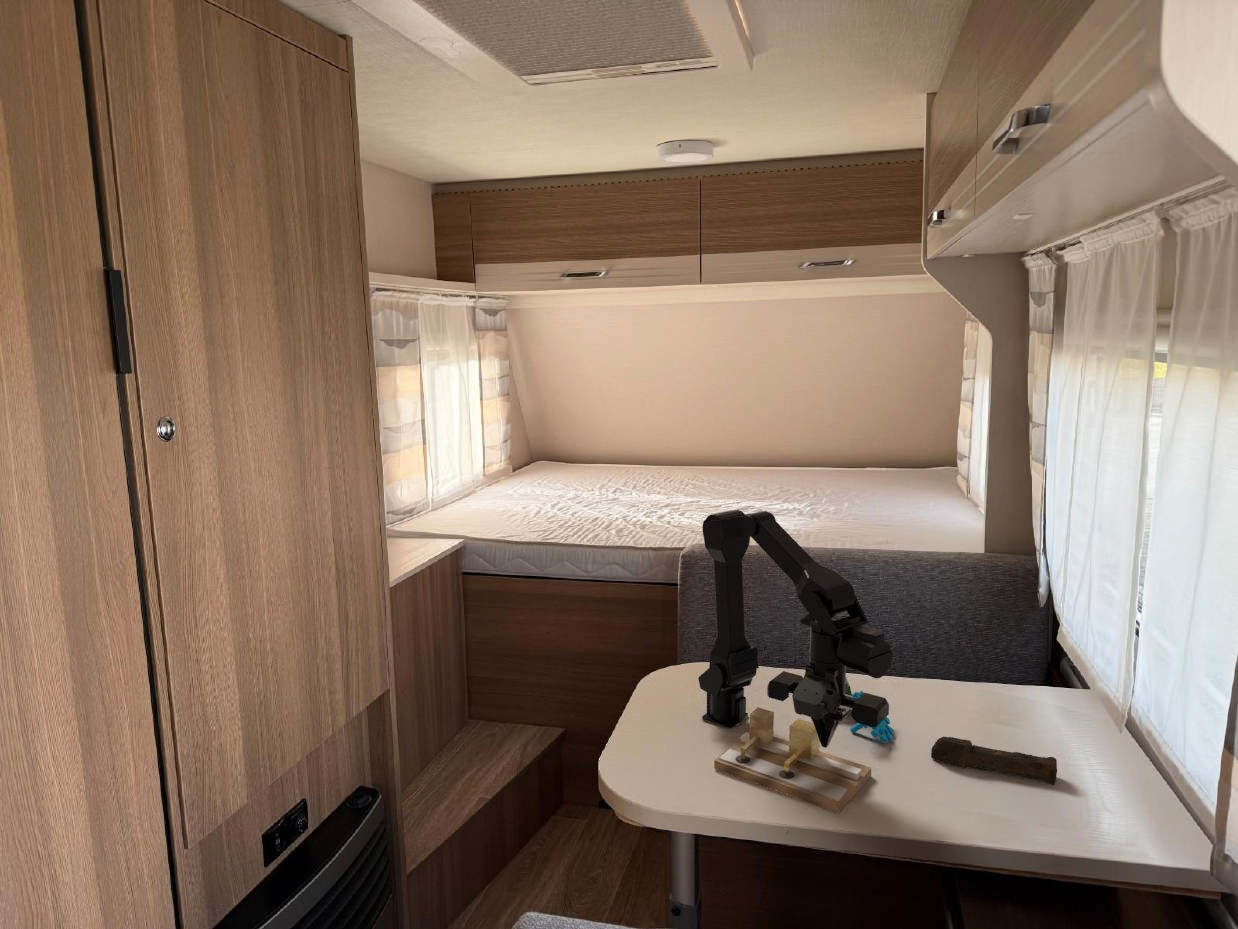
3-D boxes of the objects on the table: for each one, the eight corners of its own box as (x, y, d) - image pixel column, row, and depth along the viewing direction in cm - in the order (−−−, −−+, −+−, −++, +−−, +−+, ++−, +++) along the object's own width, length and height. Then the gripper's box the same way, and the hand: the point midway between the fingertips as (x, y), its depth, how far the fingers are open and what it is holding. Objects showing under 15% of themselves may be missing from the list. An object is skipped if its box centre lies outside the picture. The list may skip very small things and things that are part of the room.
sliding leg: (774, 770, 138) (774, 738, 137) (797, 749, 145) (797, 718, 144) (796, 778, 136) (797, 746, 135) (819, 756, 142) (820, 725, 141)
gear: (888, 746, 146) (850, 696, 149) (862, 764, 148) (825, 714, 152) (903, 728, 155) (867, 681, 159) (878, 744, 158) (843, 698, 161)
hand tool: (1055, 776, 140) (1057, 750, 139) (1056, 788, 136) (1058, 761, 135) (932, 753, 147) (934, 728, 147) (930, 764, 144) (932, 738, 143)
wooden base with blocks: (714, 768, 143) (714, 727, 141) (751, 737, 153) (752, 698, 152) (839, 813, 130) (841, 768, 128) (871, 776, 140) (872, 733, 138)
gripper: (752, 659, 136) (750, 750, 139) (865, 689, 125) (861, 787, 128) (783, 637, 145) (781, 723, 148) (892, 663, 134) (888, 755, 136)
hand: (825, 746), depth 140 cm, fingers closed
